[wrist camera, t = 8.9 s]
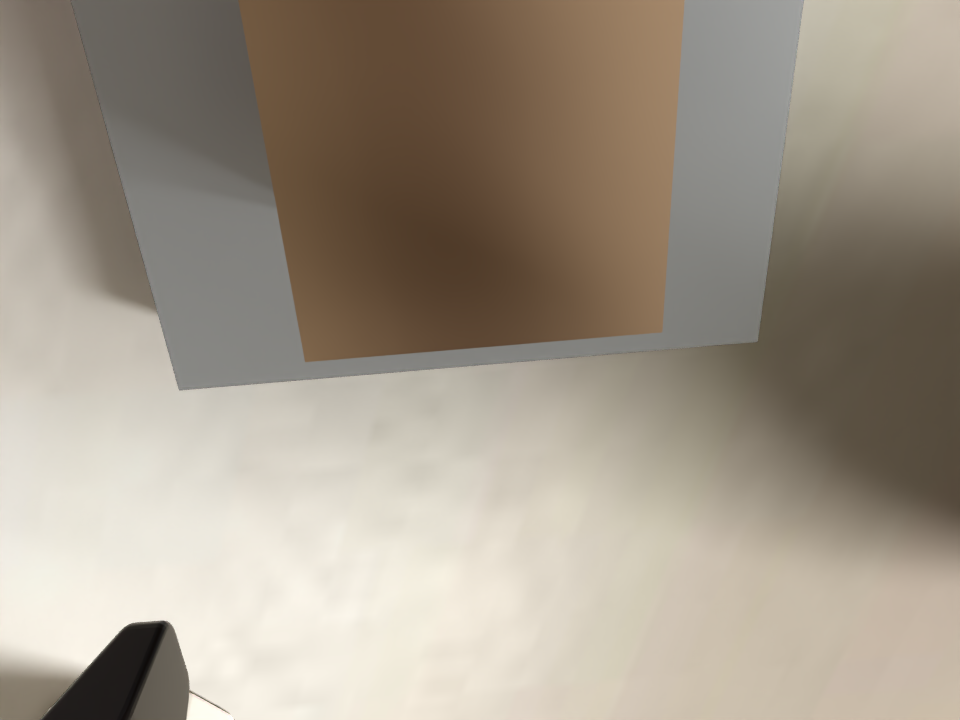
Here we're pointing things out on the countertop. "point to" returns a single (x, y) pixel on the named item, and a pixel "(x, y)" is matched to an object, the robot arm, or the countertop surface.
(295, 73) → the walnut cube
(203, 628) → the countertop surface
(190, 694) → the white cup
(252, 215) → the slate tile
